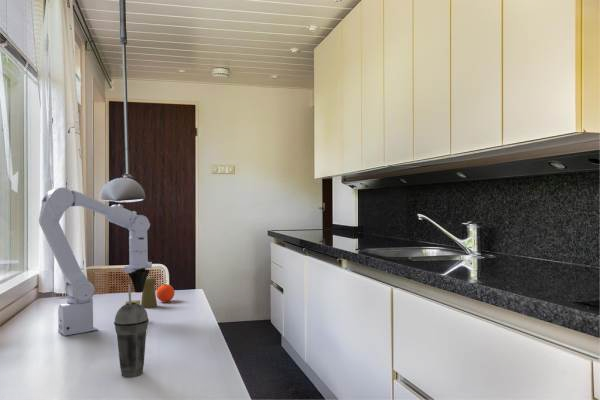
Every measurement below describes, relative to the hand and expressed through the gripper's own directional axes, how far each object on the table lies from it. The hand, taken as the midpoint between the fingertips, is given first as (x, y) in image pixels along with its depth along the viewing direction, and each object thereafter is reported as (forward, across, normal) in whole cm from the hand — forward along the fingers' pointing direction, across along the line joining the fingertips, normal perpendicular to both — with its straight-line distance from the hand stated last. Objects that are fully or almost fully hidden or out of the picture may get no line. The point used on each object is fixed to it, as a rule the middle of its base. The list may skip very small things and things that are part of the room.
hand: (139, 292), depth 156 cm
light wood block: (+9, -1, +2) cm, 9 cm away
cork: (+10, +22, +8) cm, 26 cm away
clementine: (+10, +32, +6) cm, 34 cm away
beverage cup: (+10, -48, -24) cm, 55 cm away
